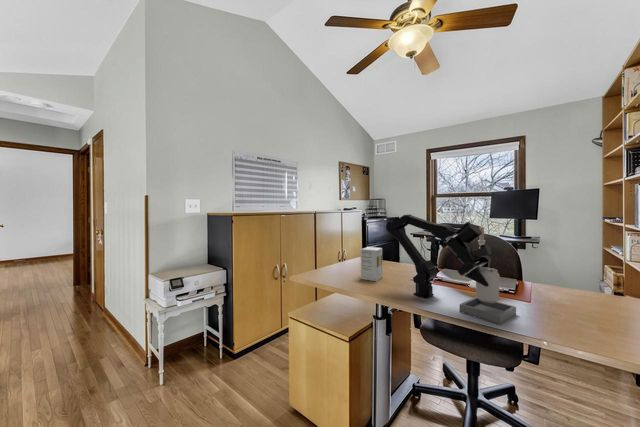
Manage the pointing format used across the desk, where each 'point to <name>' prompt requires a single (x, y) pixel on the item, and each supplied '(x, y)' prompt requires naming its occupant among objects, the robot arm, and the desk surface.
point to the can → (491, 291)
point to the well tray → (488, 310)
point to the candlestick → (481, 242)
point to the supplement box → (371, 263)
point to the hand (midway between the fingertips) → (491, 283)
